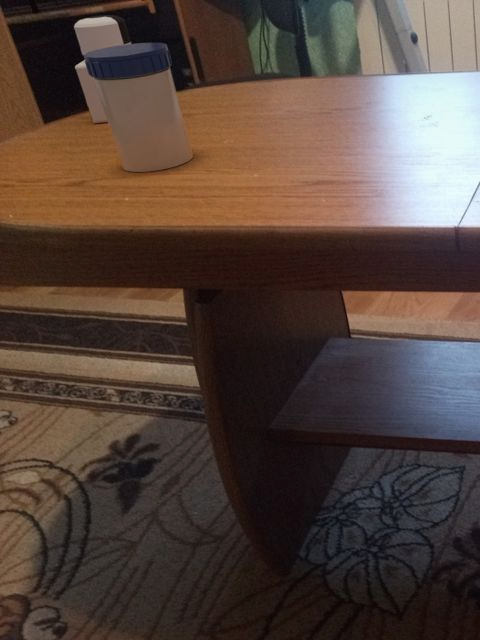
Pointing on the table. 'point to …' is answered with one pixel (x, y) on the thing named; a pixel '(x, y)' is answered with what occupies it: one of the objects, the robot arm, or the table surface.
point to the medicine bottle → (94, 37)
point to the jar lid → (128, 60)
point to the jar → (145, 121)
